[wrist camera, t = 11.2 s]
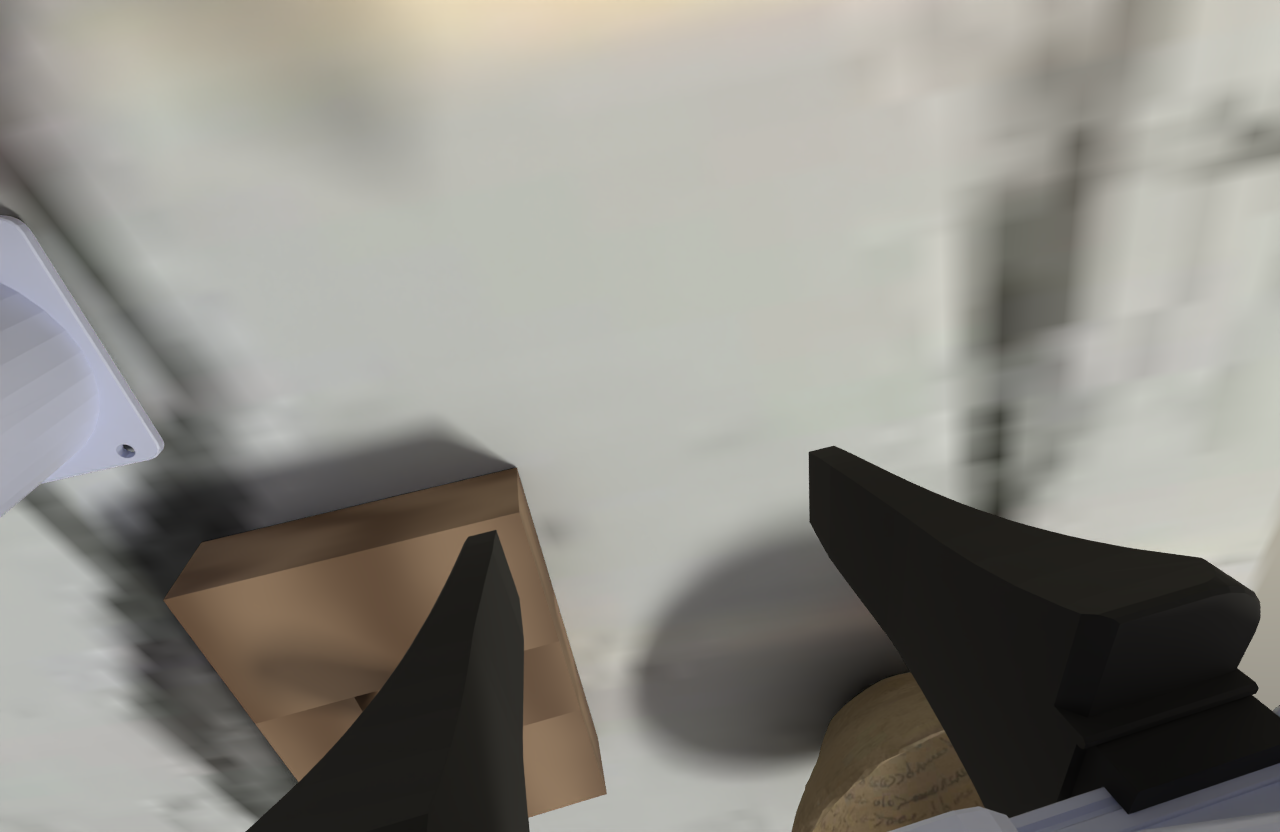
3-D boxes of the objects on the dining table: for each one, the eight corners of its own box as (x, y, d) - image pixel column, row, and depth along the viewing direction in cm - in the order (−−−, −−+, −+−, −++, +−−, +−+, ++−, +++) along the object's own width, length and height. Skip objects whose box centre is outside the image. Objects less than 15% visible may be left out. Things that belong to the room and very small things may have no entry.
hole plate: (373, 804, 32) (362, 867, 29) (201, 542, 23) (163, 600, 20) (598, 738, 33) (606, 793, 30) (516, 467, 24) (519, 512, 22)
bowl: (694, 796, 37) (739, 954, 30) (816, 565, 30) (912, 704, 23) (928, 790, 43) (1011, 923, 36) (1077, 596, 36) (1215, 714, 29)
